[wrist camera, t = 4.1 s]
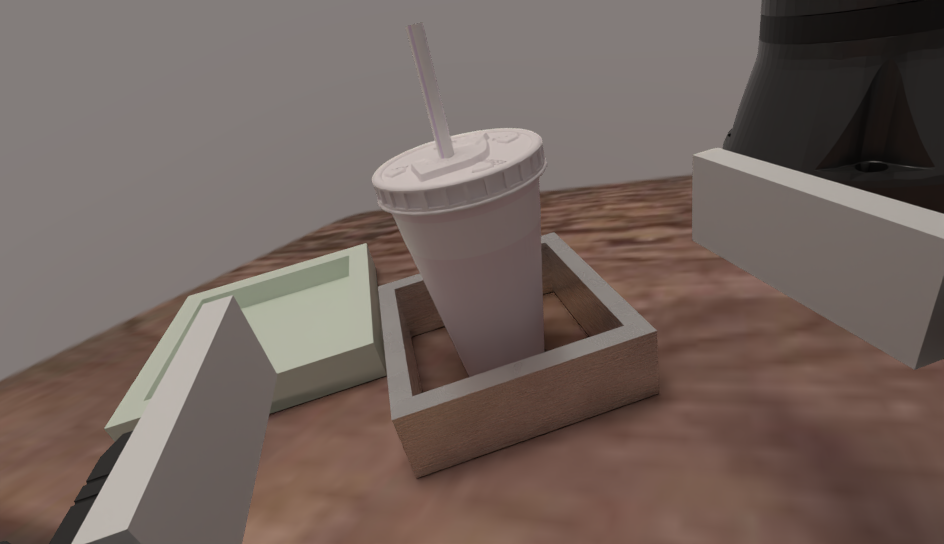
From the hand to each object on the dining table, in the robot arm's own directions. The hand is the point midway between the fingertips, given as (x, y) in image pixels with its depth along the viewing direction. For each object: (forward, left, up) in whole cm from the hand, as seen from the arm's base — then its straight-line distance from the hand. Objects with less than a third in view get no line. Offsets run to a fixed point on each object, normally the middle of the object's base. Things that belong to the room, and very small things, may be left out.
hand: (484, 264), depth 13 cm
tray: (+11, -13, -8) cm, 19 cm away
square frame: (-1, -5, -8) cm, 9 cm away
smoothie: (-1, -5, -8) cm, 10 cm away
